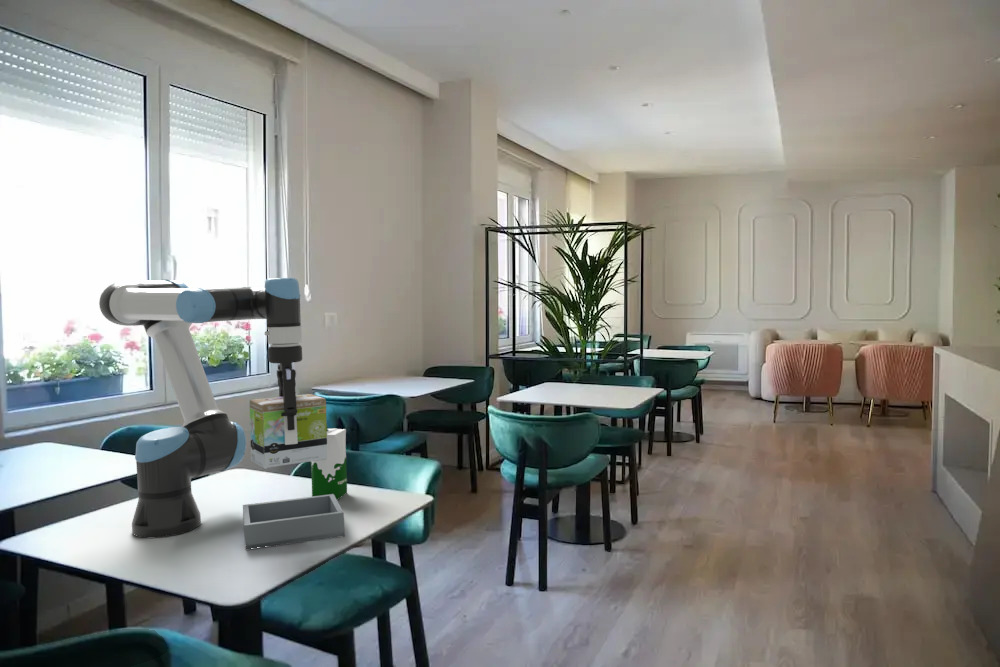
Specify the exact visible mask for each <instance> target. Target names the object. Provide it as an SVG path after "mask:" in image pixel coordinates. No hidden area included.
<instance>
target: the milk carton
mask: <svg viewBox="0 0 1000 667" xmlns="http://www.w3.org/2000/svg"><path fill="white" fill-rule="evenodd" d="M346 435H347V429H346V428H343V429H342V428H336V427H335V428H327V459H326V460H318V461H311V462H310V469H311V470H310V471H311V472H310V473H311V474H310V475H311V497H313V496H321V495H329V494H334V496H335V498H336V499H338V498H339V499H340V497H341V496H342V497H343V496H345V495H346V494H348V475H347V472H348V470H347V469H348V468H347V449H346V448H347V445H346V442H347V440H346V439H347V436H346ZM345 493H346V494H345ZM344 494H345V495H344ZM342 497H341V498H342ZM339 499H338V500H339Z"/></svg>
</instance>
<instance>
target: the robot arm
mask: <svg viewBox="0 0 1000 667" xmlns="http://www.w3.org/2000/svg"><path fill="white" fill-rule="evenodd" d="M299 285H300V284H299V280H298V279H296V278H295V277H276V278H275V277H271V278H270V277H269V278H266V279H265V281H264V286H263V287H261V286H259V287H257V286H256V287H255V286H254V287H253V286H247V287H246V286H243V287H224V288H223V287H222V288H221V287H219V288H217V287H216V288H215V287H210V288H208V287H206V288H205V287H204V288H202V287H191V288H190V287H189V286H188V285H187V284H185V283H184V282H182V281H179V280H171V279H160V280H158V279H157V280H122V281H117V282H114V283H112V284H110V285H108V286H107V287H106V288H105V289H104V290H103V291H102V293H101V295H100V297H99V302H98V304H99V309H100V312H101V314H102V316H103V317H104V318H105V319H106V320H108V321H109V322H111V323H113V324H116V325H119V326H128V327H129V326H143V328H144V330H145V332H146V335H147V336H148V337H150V338H152V339H154V340H155V342H156V345H157V348H158V350H159V354H160V355H161V356H160V357H161V359H162V362H163V365H164V368H165V371H166V373H167V376H168V380H169V381H170V384H171V387H172V390H173V393H174V396H175V399H176V401H177V405H178V407H179V410H180V413H181V416H182V418H183V424H182V426H170V427H167V428H161V429H160V428H159V429H156V430H153V431H150V432H148V433H145V434H144V435H141V436H140V437H139V439H138V440H137V441H136V444H135V455H134V456H135V457H134V460H135V463H136V476H137V477H136V479H137V491H138V492H137V493H138V497H137V498H138V500H137V503H136V507H135V510H134V515H133V518H132V522H131V532H132V535H134V534H135V535H137V536H136V537H138V536H141V537H140V538H146V537H155V538H164V537H165V538H166V537H171V536H176V535H181V534H184V533H187V532H190V531H192V530H195V529H196V528H198V527H199V526H200V525H201V524H202V523H201V522H202V519H201V512H200V509H199V507H198V505H197V502H196V501H195V498H194V495H193V493H192V492H193V491H192V479H194V478H199V477H202V476H207V475H211V474H213V473H218V472H225V471H226V470H228V469H229V470H230V469H232V468H235V467H236V466H238V465H239V464H240V463H241V462H242V461H243V459H244V457H245V454H246V453H245V452H246V449H247V438H246V433H245V431H244V428H243V427H242V426H241V425H240V424H239V423H238V422H234V421H230V420H229V416H228V414H227V412H225V411H222V410H220V409H219V408H218V404H217V402H216V399H215V396H214V393H213V390H212V389H211V385H210V383H209V379H208V378H207V375H206V372H205V370H204V366H203V364H202V362H201V358H200V355H199V353H198V350H197V348H196V345H195V342H194V339H193V337H192V336H193V335H192V333H191V331H190V327H191V326H192V324H204V323H214V322H215V323H216V322H224V321H225V322H228V321H229V322H230V321H245V320H246V321H247V320H266V327H267V329H266V331H264V335H265V336H267V344H268V345H270V346H269V347H268V348H267V354H268V357H267V358H268V362H269V363H270V364H277V365H278V364H279V365H278V366H277V370H276V377H277V386H278V397H283V402H284V412H283V413H281V416H284V433H285V445H290V444H298V439H297V416H296V414H297V407H296V395H297V394H296V386H297V385H296V383H297V382H296V375H297V372H296V369H295V368H293V366H292V365H293V364H292V363H300V362H302V361H303V346H302V345H300V344H301V343H302V342H303V339H302V338H303V336H302V335H303V334H302V333H303V332H302V325H301V324H302V321H301V318H302V317H301V294H300V286H299ZM135 535H134V536H135Z"/></svg>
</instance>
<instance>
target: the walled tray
mask: <svg viewBox="0 0 1000 667" xmlns="http://www.w3.org/2000/svg"><path fill="white" fill-rule="evenodd" d="M242 516H243V517H242V518H243V520H242V521H243V533H244V546H245V545H246V546H245V550H246V549H250V550H252V549H251V548H257V547H264V548H266V547H265V546H271V547H278V546H283V545H292V544H299V543H306V542H307V543H308V542H313V541H318V540H319V541H320V540H327V539H333V538H340V537H341V536H342V537H345V513H344V510H343V508H342V507H341V505H340V503H339V501H338V500H337V499H336V498H335V496H334V494H329V495H321V496H313V497H312V496H305V497H299V498H290V499H281V500H273V501H265V502H256V503H255V502H254V503H248V504H247V503H246V504H242ZM276 545H277V546H276ZM257 549H258V548H257Z"/></svg>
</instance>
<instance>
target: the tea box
mask: <svg viewBox="0 0 1000 667" xmlns="http://www.w3.org/2000/svg"><path fill="white" fill-rule="evenodd" d="M296 407H297V414H296V416H297V439H298V444H290V445H285V433H284V416H281V413H283V412H284V402H283V397H279V396H275V397H274V396H273V397H266V398H265V397H264V398H253V399H249V433H250V434H249V436H250V438H249V439H250V461H251V462H253V463H254V464H255V465H257V466H258V467H261V468H262V469H263V470H266V469H270V468H271V469H272V468H275V467H281V466H288V465H294V464H295V465H296V464H302V463H309V462H310V463H311V461H318V460H326V459H327V429H328V422H327V400H326V398H325V397H321V396H319V395H316V394H312V393H306V394H296Z"/></svg>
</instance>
